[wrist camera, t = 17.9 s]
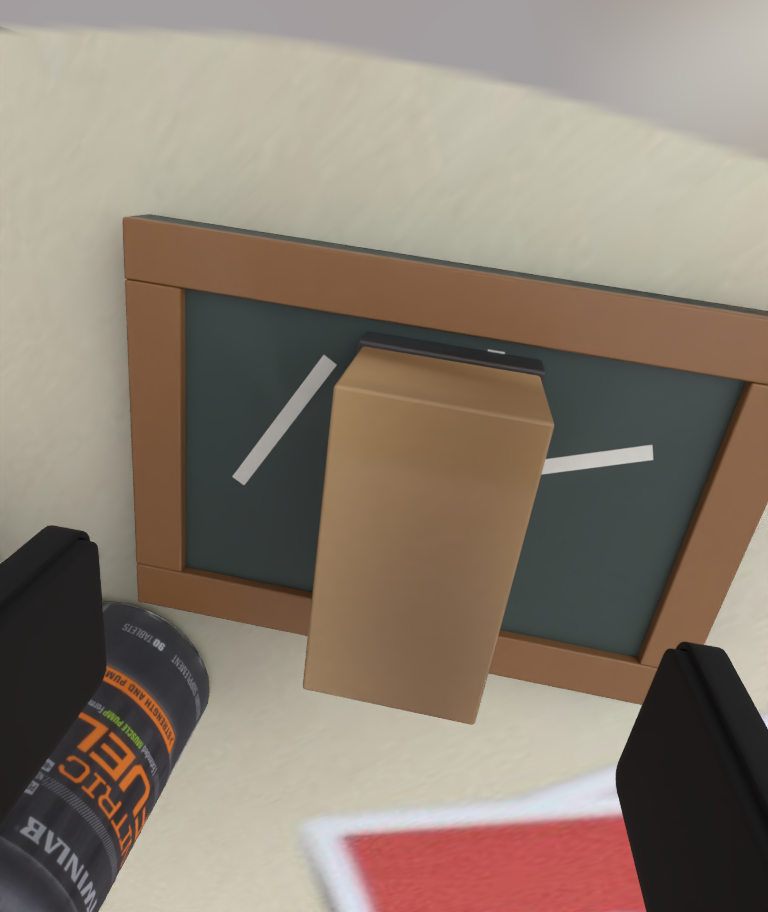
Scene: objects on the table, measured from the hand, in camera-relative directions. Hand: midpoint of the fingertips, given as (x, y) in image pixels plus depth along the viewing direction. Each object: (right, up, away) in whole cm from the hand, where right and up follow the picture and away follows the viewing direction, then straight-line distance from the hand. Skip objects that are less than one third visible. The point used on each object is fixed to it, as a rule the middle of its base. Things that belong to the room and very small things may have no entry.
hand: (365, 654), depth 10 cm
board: (+2, +3, +7) cm, 8 cm away
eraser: (+1, +3, +6) cm, 7 cm away
